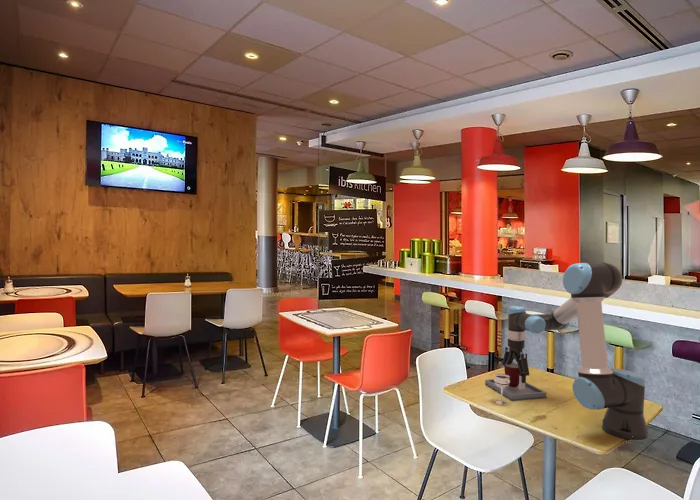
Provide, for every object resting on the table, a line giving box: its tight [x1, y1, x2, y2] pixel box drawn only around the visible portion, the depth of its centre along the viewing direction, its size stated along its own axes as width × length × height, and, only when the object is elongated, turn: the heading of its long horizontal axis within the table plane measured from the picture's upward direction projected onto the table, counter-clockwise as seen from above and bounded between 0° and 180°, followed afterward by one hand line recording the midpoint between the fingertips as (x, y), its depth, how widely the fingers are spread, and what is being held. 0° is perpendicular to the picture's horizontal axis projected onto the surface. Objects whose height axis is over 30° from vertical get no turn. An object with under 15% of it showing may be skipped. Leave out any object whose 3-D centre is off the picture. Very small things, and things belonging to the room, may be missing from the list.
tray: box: [484, 378, 547, 402], centre depth 216 cm, size 22×18×2 cm
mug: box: [504, 362, 521, 387], centre depth 216 cm, size 10×8×10 cm
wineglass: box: [493, 373, 510, 406], centre depth 201 cm, size 7×7×12 cm
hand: (514, 385), depth 216 cm, fingers closed on mug, 10 cm apart
